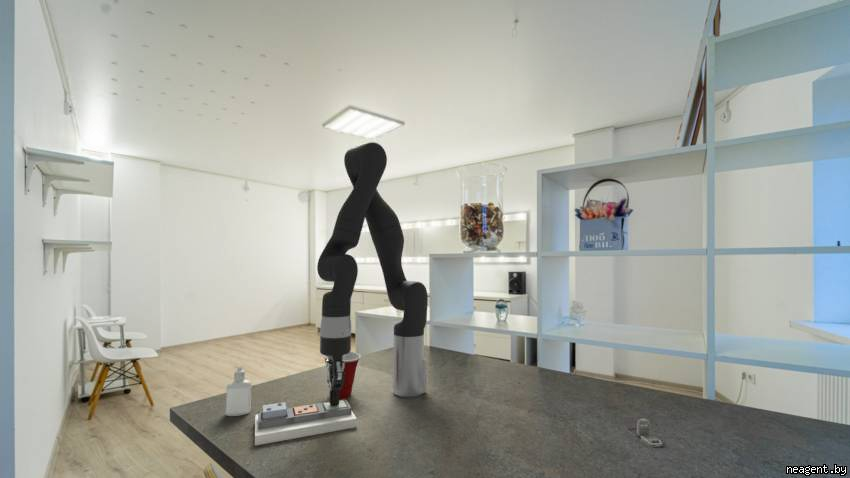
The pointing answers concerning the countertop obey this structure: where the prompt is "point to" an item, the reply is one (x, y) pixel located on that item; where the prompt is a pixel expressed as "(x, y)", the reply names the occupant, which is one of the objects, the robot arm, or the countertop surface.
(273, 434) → the keypad
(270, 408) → the key two
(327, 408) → the key one
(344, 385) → the plastic cup
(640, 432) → the strap clip
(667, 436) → the countertop surface
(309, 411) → the key three
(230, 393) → the eye dropper bottle
